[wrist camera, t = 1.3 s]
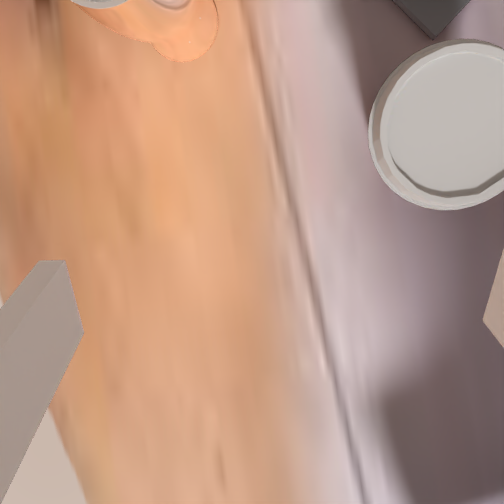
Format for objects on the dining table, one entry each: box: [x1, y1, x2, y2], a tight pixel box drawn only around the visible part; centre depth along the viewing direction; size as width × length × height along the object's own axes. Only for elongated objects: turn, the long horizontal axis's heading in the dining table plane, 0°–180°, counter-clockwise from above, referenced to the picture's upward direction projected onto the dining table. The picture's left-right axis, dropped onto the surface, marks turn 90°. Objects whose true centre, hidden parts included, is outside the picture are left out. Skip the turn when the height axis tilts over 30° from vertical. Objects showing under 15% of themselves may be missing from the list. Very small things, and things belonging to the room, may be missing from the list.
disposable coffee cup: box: [368, 39, 504, 210], centre depth 30 cm, size 10×10×12 cm
